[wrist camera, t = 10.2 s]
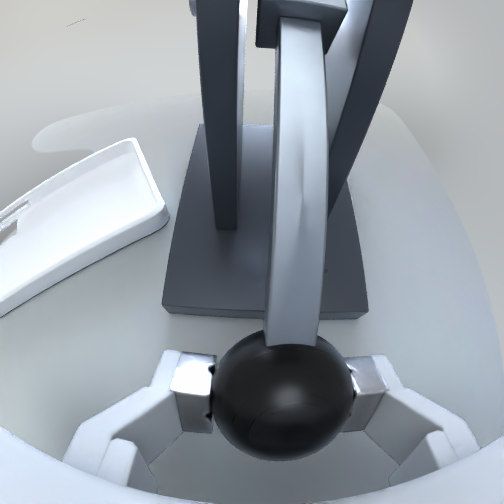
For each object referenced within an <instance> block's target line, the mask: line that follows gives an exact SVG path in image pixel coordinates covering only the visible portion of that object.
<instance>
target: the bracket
mask: <svg viewBox="0 0 504 504" xmlns="http://www.w3.org/2000/svg"><path fill="white" fill-rule="evenodd" d="M346 2H347V6H348V12H347V14H346V16H345V18H344V20H343V22H342V24H341V26H340V28H339V30H338V32H337V34H336V36H335V38H334V40H333V42H332V44H331V46H330V48H329V50H328V52H327V54H326V55H325V68H326V83H327V103H328V140H329V171H328V210H327V231H326V248H325V262H324V274H323V286H322V296H321V306H320V315H319V319H358V318H359V317H361V316H363V315H364V314H366V313H367V312H368V311H369V310H368V300H367V292H366V283H365V276H364V269H363V262H362V255H361V249H360V243H359V237H358V232H357V226H356V221H355V216H354V211H353V206H352V201H351V197H350V192H349V188H348V184H347V177H348V175H349V172H350V170H351V168H352V166H353V163H354V161H355V159H356V156H357V154H358V152H359V149H360V147H361V145H362V142H363V140H364V138H365V135H366V133H367V130H368V128H369V126H370V123H371V121H372V118H373V116H374V113H375V111H376V108H377V106H378V103H379V100H380V98H381V95H382V93H383V90H384V87H385V85H386V82H387V79H388V76H389V74H390V71H391V68H392V65H393V62H394V60H395V57H396V54H397V51H398V48H399V45H400V42H401V39H402V36H403V33H404V30H405V26H406V23H407V20H408V17H409V13H410V10H411V7H412V3H413V0H346ZM189 5H190V11H191V13H192V15H193V16H195V17H196V19H197V38H198V55H199V69H200V83H201V95H202V107H203V118H204V124H199V128H198V131H197V135H196V138H195V142H194V146H193V150H192V153H191V157H190V161H189V165H188V169H187V173H186V177H185V181H184V186H183V190H182V194H181V199H180V203H179V208H178V213H177V218H176V222H175V227H174V232H173V238H172V243H171V248H170V254H169V260H168V266H167V272H166V278H165V284H164V291H163V298H162V306H163V307H164V308H165V309H166V310H167V311H168V312H169V313H177V314H189V315H203V316H218V317H237V318H261V319H264V313H265V296H266V280H267V262H268V243H269V224H270V203H271V180H272V155H273V127H274V126H264V125H246V124H243V97H244V67H245V41H246V16H247V0H189Z"/></svg>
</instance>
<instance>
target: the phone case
mask: <svg viewBox="0 0 504 504" xmlns="http://www.w3.org/2000/svg"><path fill="white" fill-rule="evenodd" d="M26 200H27V201H28V202H29V203H27V204H26V205H24V206H23V207H22V208H20V209H19V210H17V211H16V212H14V213H13V214H12V215H10V216H9V217H7V218H6V219H5V220H3V221H2V222H1V223H0V233H1V232H2V231H3V230H5V229H6V228H8V227H9V226H10V225H12V224H13V223H14V222H16V221H17V233H16V234H15V235H14V236H13V237H11V238H10V239H8V240H7V241H6V242H4V243H3V244H1V245H0V317H1V316H3V315H4V314H6V313H8V312H9V311H11V310H12V309H14V308H15V307H17V306H19V305H20V304H22V303H24V302H25V301H27V300H28V299H30V298H32V297H33V296H35V295H37V294H38V293H40V292H42V291H43V290H45V289H47V288H49V287H50V286H52V285H54V284H56V283H57V282H59V281H61V280H63V279H64V278H66V277H68V276H70V275H72V274H73V273H75V272H77V271H79V270H81V269H82V268H84V267H86V266H88V265H90V264H92V263H94V262H95V261H97V260H99V259H101V258H103V257H105V256H107V255H109V254H111V253H113V252H115V251H117V250H119V249H120V248H122V247H124V246H126V245H128V244H130V243H132V242H134V241H136V240H138V239H141V238H143V237H145V236H147V235H149V234H151V233H153V232H155V231H157V230H158V229H160V228H161V227H163V226H164V225H165V224H166V223H167V222H168V220H169V214H168V212H167V209H166V206H165V203H164V201H163V199H162V197H161V194H160V192H159V190H158V188H157V186H156V183H155V181H154V179H153V177H152V175H151V172H150V170H149V168H148V166H147V163H146V161H145V159H144V156H143V154H142V152H141V149H140V147H139V145H138V142H137V140H136V138H128V139H125V140H122V141H119V142H117V143H115V144H113V145H111V146H109V147H107V148H104V149H102V150H100V151H98V152H96V153H94V154H92V155H90V156H89V157H87V158H85V159H83V160H81V161H79V162H77V163H75V164H73V165H72V166H70V167H68V168H67V169H65V170H63V171H61V172H60V173H58V174H56V175H54V176H53V177H51V178H49V179H48V180H46V181H45V182H43V183H41V184H40V185H38V186H37V187H35V188H34V189H32V190H31V191H29V192H28V193H26V194H25V195H23V196H22V197H20V198H19V199H17V200H16V201H14V202H13V203H12V204H10V205H9V206H8V207H6V208H5V209H4V210H2V211H1V212H0V219H1V218H2V217H4V216H5V215H6V214H8V213H9V212H11V211H12V210H13V209H15V208H16V207H18V206H19V205H20V204H22V203H23V202H25V201H26Z"/></svg>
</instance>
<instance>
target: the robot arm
mask: <svg viewBox="0 0 504 504" xmlns="http://www.w3.org/2000/svg"><path fill="white" fill-rule="evenodd" d="M343 359H344V361H345V362H346V364H347V366H348V368H349V371H350V374H351V377H352V382H353V402H352V407H351V411H350V414H349V417H348V419H347V421H346V423H345V425H344V427H343V428H342V430H341V431H340V432H339V433H344V432H353V431H361V430H364V431H363V432H364V433H365V434H367V435H368V436H369V437H370V438H371V439H372V440H373V441H374V442H375V443H376V444H377V445H378V446H379V447H381V448H382V449H383V450H384V451H385V452H386V453H387V454H388V455H389V456H390V457H392V458H393V459H394V460H395V461H396V462H397V463H398V464H399V465H400V466H399V467H398V468H397V469H396V470H395V471H394V472H393V473H392V474H391V475H390V477H389V478H388V480H389V483H390V487H388V488H385V489H381V490H377V491H374V492H369V493H365V494H361V495H356V496H351V497H346V498H341V499H335V500H328V501H321V502H313V503H303V504H504V435H503V436H502V437H500V438H498V439H497V440H495V441H494V442H492V443H490V444H489V445H487V446H485V447H483V448H482V449H481V447H480V446H479V444H478V442H477V440H476V439H475V437H474V435H473V433H472V432H471V430H470V428H469V427H468V425H467V423H466V422H465V420H464V419H462V418H461V417H459V416H457V415H455V414H453V413H452V412H450V411H448V410H446V409H445V408H443V407H441V406H439V405H438V404H436V403H434V402H433V401H431V400H429V399H427V398H426V397H424V396H422V395H421V394H419V393H417V392H416V391H414V390H412V389H410V388H405V387H404V386H403V384H402V382H401V380H400V379H399V377H398V375H397V373H396V372H395V370H394V368H393V367H392V365H391V363H390V361H389V360H388V358H387V356H385V355H384V354H381V355H371V356H362V357H347V358H343ZM217 366H218V364H217V355H208V354H199V353H191V352H184V351H183V352H181V351H175V350H168V349H166V350H165V351H164V352H163V354H162V356H161V359H160V361H159V363H158V366H157V368H156V371H155V373H154V376H153V378H152V381H151V383H150V386H149V387H142V388H141V389H139V390H137V391H136V392H134V393H133V394H131V395H129V396H128V397H126V398H124V399H123V400H121V401H119V402H118V403H116V404H114V405H113V406H111V407H109V408H108V409H106V410H104V411H102V412H101V413H99V414H97V415H95V416H94V417H92V418H90V419H88V420H87V421H85V422H83V423H81V424H80V425H79V427H78V429H77V431H76V433H75V435H74V437H73V439H72V441H71V443H70V445H69V447H68V449H67V451H66V453H65V455H64V457H63V459H62V461H59V460H57V459H55V458H53V457H51V456H49V455H47V454H45V453H43V452H41V451H40V450H38V449H36V448H34V447H32V446H31V445H29V444H27V443H26V442H24V441H22V440H21V439H19V438H17V437H16V436H14V435H13V434H11V433H10V432H8V431H7V430H5V429H4V428H2V427H1V426H0V504H216V503H206V502H198V501H191V500H184V499H178V498H173V497H167V496H163V495H158V494H157V489H158V484H157V482H156V480H155V479H154V477H153V475H152V474H151V472H150V470H149V468H148V467H147V466H148V465H149V464H150V463H151V462H152V461H153V460H154V459H155V458H157V457H158V456H159V455H160V454H161V453H162V452H163V451H164V450H165V449H166V448H167V447H168V446H169V445H170V444H172V443H173V442H174V441H175V440H176V439H177V438H178V437H179V436H180V435H181V434H182V433H183V432H182V431H186V432H195V433H206V434H212V432H213V425H214V417H213V414H212V410H211V386H212V379H213V375H214V373H215V370H216V368H217Z"/></svg>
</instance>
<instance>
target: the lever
mask: <svg viewBox="0 0 504 504" xmlns="http://www.w3.org/2000/svg"><path fill="white" fill-rule="evenodd" d="M347 12H348V6H347V2H346V0H258V8H257V25H256V42H255V45H256V47H259V48H273V49H276V52H275V94H274V127H273V155H272V180H271V203H270V224H269V243H268V262H267V280H266V296H265V313H264V328H263V330H261V331H258V332H256V333H253V334H251V335H249V336H247V337H245V338H243V339H242V340H241V341H239V342H238V343H236V344H235V345H234V346H233V347H232V348H231V349H229V350H228V352H227V353H226V354H225V355H224V357H223V358H222V359H221V361H220V363H219V364H218V366H217V368H216V370H215V373H214V375H213V379H212V386H211V410H212V414H213V417H214V420H215V422H216V424H217V426H218V428H219V429H220V431H221V432H222V434H223V435H224V436H225V438H226V439H227V440H228V441H229V442H230V443H231V444H233V445H234V446H235V447H236V448H238V449H239V450H241V451H242V452H244V453H246V454H248V455H251V456H253V457H255V458H259V459H262V460H267V461H292V460H297V459H301V458H304V457H307V456H309V455H311V454H314V453H316V452H317V451H319V450H321V449H322V448H324V447H325V446H327V445H328V444H329V443H330V442H331V441H332V440H333V439H334V438H335V437H336V436H337V435H338V434H339V432H340V431H341V430H342V428H343V427H344V425H345V423H346V421H347V419H348V417H349V414H350V411H351V407H352V402H353V382H352V377H351V374H350V371H349V368H348V366H347V364H346V362H345V361H344V359H343V357H342V356H341V354H340V353H339V352H338V351H337V350H336V349H335V347H333V346H332V345H331V344H330V343H329V342H328V341H326V340H325V339H323V338H322V337H320V336H318V335H317V331H318V323H319V315H320V306H321V296H322V286H323V274H324V262H325V248H326V231H327V210H328V171H329V140H328V103H327V83H326V68H325V55H326V54H327V52H328V50H329V48H330V46H331V44H332V42H333V40H334V38H335V36H336V34H337V32H338V30H339V28H340V26H341V24H342V22H343V20H344V18H345V16H346V14H347Z"/></svg>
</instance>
